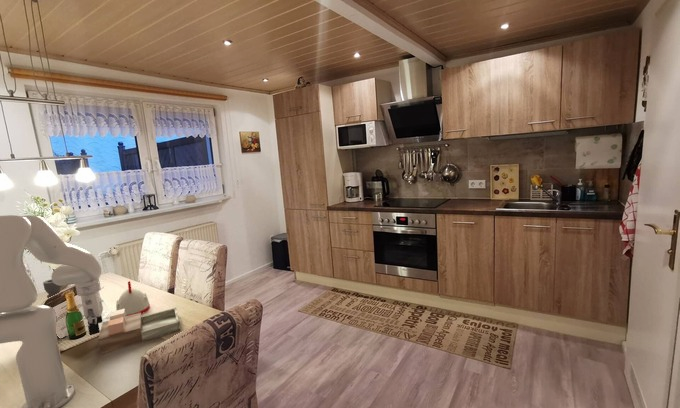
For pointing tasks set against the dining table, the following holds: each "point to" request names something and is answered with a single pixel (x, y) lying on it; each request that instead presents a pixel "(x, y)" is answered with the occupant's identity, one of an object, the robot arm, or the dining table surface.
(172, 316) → the stepped long block
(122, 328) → the salmon pink block
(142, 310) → the white dome with stick
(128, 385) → the dining table surface
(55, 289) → the candle holder
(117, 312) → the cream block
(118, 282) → the dining table surface
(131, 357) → the dining table surface
